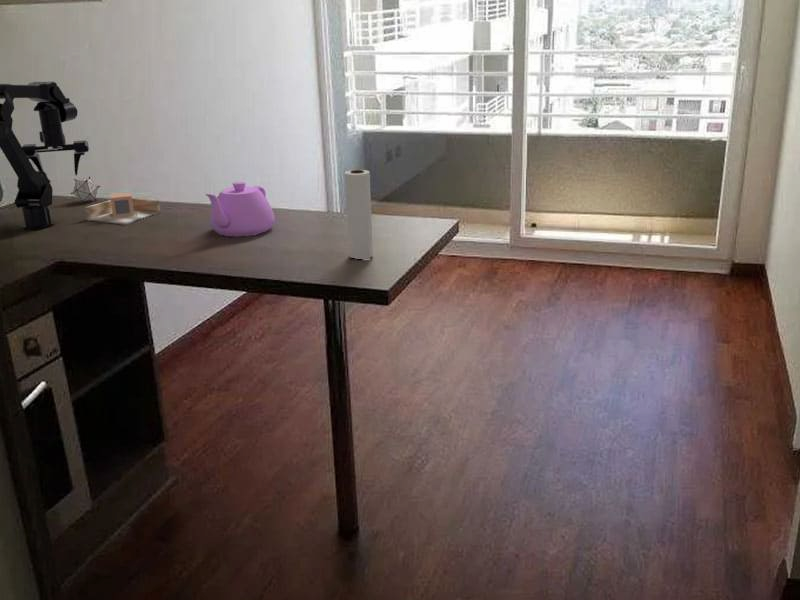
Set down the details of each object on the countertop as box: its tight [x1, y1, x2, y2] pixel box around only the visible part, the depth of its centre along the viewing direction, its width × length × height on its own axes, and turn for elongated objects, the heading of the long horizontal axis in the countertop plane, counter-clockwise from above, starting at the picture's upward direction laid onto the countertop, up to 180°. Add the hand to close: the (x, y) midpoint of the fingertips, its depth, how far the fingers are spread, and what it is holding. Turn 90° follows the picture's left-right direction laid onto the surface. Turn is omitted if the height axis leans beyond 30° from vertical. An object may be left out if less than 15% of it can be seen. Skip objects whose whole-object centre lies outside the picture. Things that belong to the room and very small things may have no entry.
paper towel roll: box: [344, 169, 374, 259], centre depth 193 cm, size 7×6×21 cm
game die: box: [70, 176, 101, 204], centre depth 263 cm, size 9×8×10 cm
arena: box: [84, 197, 161, 226], centre depth 243 cm, size 15×15×4 cm
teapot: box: [205, 181, 276, 237], centre depth 222 cm, size 25×18×14 cm
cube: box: [109, 191, 134, 218], centre depth 242 cm, size 6×6×6 cm
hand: (60, 176), depth 244 cm, fingers open, 9 cm apart
